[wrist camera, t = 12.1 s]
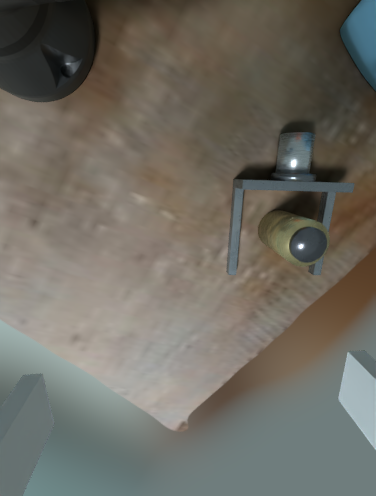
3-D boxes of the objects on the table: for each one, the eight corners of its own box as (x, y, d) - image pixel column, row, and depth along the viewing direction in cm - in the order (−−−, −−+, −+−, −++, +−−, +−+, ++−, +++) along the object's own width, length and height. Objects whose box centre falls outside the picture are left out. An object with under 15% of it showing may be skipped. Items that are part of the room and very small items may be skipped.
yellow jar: (260, 209, 39) (289, 220, 30) (297, 210, 39) (337, 221, 30) (256, 247, 41) (282, 268, 31) (292, 247, 41) (328, 268, 32)
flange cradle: (236, 135, 36) (249, 127, 30) (339, 139, 37) (369, 133, 31) (226, 271, 41) (235, 286, 36) (315, 271, 43) (337, 286, 37)
